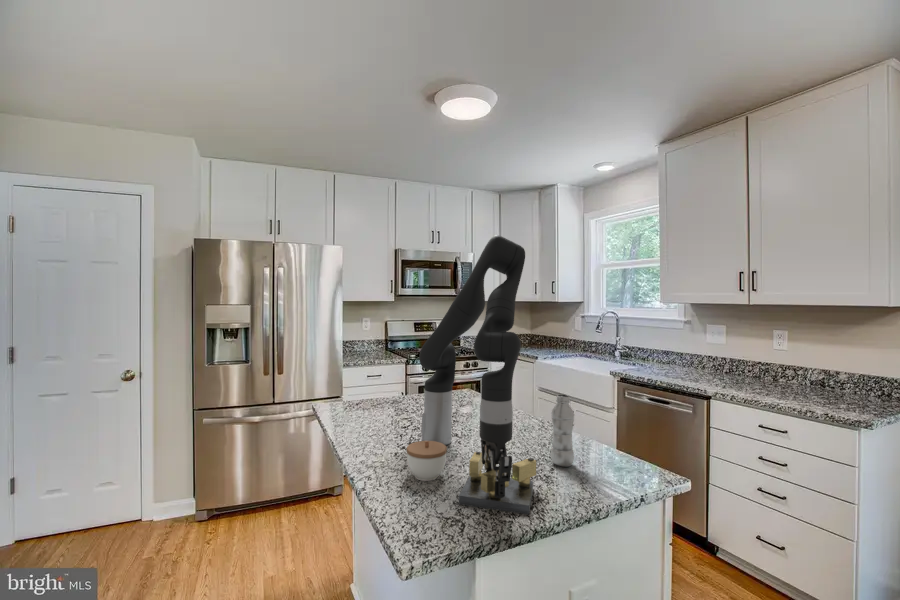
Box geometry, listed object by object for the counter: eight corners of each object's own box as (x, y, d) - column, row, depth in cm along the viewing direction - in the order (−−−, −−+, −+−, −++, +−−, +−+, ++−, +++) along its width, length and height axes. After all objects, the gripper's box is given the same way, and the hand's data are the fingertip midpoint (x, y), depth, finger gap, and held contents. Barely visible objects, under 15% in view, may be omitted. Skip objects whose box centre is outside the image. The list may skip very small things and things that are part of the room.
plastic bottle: (561, 471, 117) (562, 399, 117) (545, 462, 123) (546, 394, 123) (578, 467, 120) (580, 397, 120) (562, 459, 126) (563, 392, 126)
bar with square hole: (487, 501, 94) (488, 476, 94) (480, 496, 96) (480, 471, 96) (509, 494, 97) (509, 470, 97) (501, 489, 100) (501, 465, 100)
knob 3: (519, 490, 100) (520, 466, 100) (511, 485, 102) (511, 462, 102) (536, 482, 104) (537, 459, 104) (528, 479, 106) (528, 456, 106)
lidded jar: (399, 480, 109) (399, 444, 109) (416, 465, 119) (417, 432, 119) (437, 487, 105) (438, 450, 105) (452, 471, 115) (452, 437, 115)
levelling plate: (458, 504, 97) (459, 489, 97) (470, 481, 109) (470, 468, 109) (529, 514, 93) (529, 499, 93) (533, 489, 105) (533, 476, 105)
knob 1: (479, 484, 103) (479, 460, 103) (467, 482, 103) (468, 459, 103) (483, 473, 109) (484, 451, 109) (473, 472, 109) (473, 450, 109)
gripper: (524, 426, 91) (523, 504, 91) (499, 409, 105) (498, 477, 105) (491, 428, 89) (490, 508, 89) (471, 410, 103) (469, 480, 103)
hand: (494, 491), depth 97 cm, fingers open, 5 cm apart
